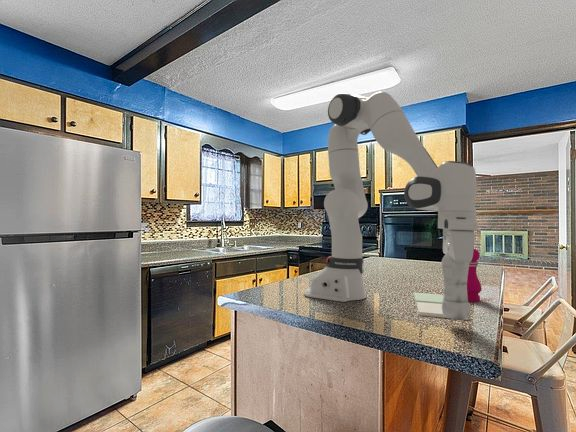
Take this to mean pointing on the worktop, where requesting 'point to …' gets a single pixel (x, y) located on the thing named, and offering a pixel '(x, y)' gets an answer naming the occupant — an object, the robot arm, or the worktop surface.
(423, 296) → the mat
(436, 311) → the mat
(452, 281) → the plastic bottle
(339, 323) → the worktop surface
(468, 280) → the pepper mill
